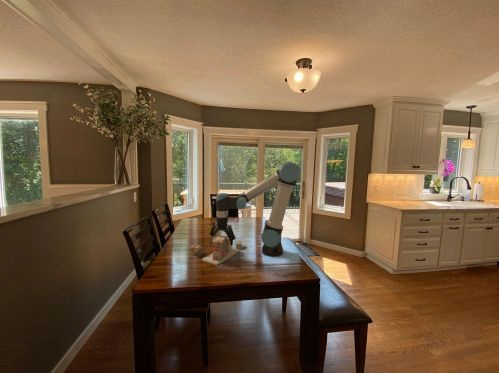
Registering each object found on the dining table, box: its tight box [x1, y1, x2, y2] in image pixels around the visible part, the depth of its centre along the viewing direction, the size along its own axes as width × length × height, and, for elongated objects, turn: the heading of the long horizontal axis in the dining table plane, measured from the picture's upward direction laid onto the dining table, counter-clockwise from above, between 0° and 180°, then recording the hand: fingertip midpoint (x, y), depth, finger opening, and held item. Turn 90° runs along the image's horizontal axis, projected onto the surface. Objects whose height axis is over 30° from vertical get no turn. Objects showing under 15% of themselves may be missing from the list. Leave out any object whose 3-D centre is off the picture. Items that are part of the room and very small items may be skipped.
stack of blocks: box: [211, 234, 229, 261], centre depth 154 cm, size 21×6×12 cm, turn 169°
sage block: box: [235, 240, 243, 250], centre depth 170 cm, size 4×7×4 cm, turn 179°
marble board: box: [201, 247, 241, 266], centre depth 154 cm, size 12×26×1 cm, turn 149°
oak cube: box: [189, 244, 201, 256], centre depth 157 cm, size 5×5×5 cm
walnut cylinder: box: [198, 245, 206, 259], centre depth 153 cm, size 4×4×6 cm
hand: (222, 247), depth 153 cm, fingers open, 13 cm apart
